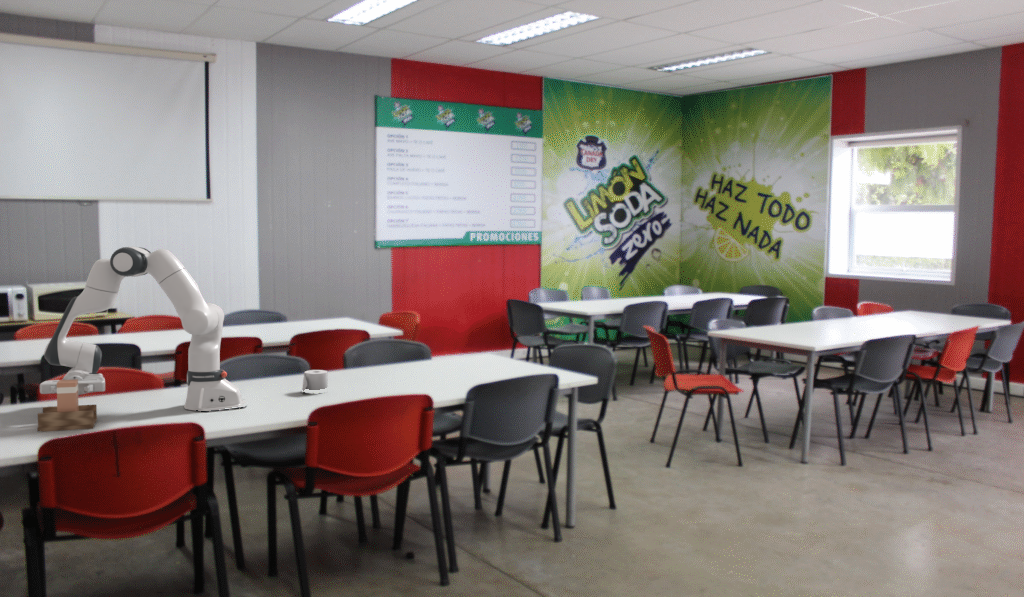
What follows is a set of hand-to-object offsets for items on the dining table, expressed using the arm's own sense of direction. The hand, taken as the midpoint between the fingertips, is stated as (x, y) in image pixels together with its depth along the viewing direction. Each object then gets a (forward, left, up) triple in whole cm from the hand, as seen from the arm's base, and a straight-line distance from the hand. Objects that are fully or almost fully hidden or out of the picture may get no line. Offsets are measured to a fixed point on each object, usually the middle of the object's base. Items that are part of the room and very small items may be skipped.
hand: (70, 390), depth 271 cm
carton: (0, +7, -9) cm, 12 cm away
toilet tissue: (-86, -27, -11) cm, 91 cm away
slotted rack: (0, +7, -11) cm, 13 cm away
